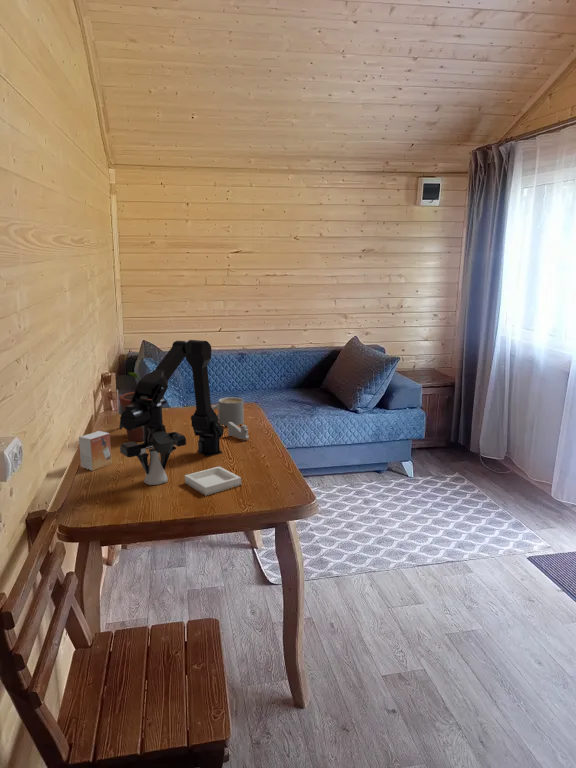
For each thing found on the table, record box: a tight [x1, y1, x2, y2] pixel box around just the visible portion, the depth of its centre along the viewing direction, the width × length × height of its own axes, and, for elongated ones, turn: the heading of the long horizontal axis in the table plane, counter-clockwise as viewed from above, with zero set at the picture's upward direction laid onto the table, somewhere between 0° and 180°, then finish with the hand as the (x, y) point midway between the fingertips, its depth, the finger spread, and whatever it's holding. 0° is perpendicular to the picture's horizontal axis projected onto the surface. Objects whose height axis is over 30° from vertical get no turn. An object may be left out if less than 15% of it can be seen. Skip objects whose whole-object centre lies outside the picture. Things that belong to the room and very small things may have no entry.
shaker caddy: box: [184, 465, 242, 497], centre depth 165 cm, size 12×12×2 cm
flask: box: [143, 447, 168, 486], centre depth 167 cm, size 7×7×10 cm
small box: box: [78, 430, 113, 471], centre depth 180 cm, size 8×6×10 cm
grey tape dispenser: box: [227, 422, 250, 441], centre depth 208 cm, size 6×1×10 cm
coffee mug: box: [211, 396, 245, 426], centre depth 227 cm, size 13×10×10 cm
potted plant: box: [117, 372, 164, 442], centre depth 211 cm, size 18×22×25 cm
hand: (155, 471), depth 167 cm, fingers closed on flask, 5 cm apart
